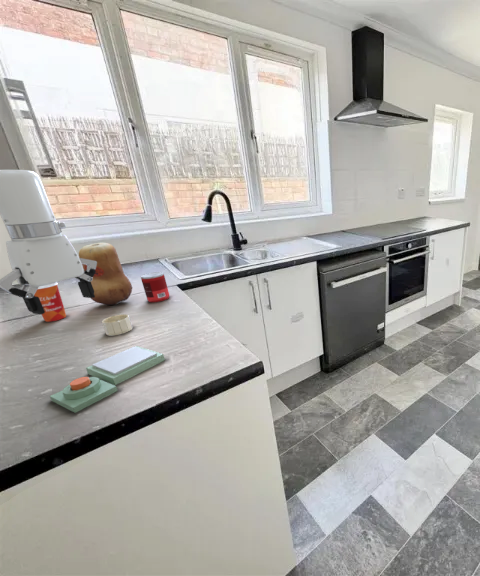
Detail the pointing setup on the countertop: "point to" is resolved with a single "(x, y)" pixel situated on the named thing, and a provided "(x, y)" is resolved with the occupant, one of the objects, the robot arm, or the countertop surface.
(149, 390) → the countertop surface
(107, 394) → the pad
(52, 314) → the paper cup
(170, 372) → the countertop surface
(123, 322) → the bowl
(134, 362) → the scale
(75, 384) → the button
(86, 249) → the butternut squash
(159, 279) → the canned food
